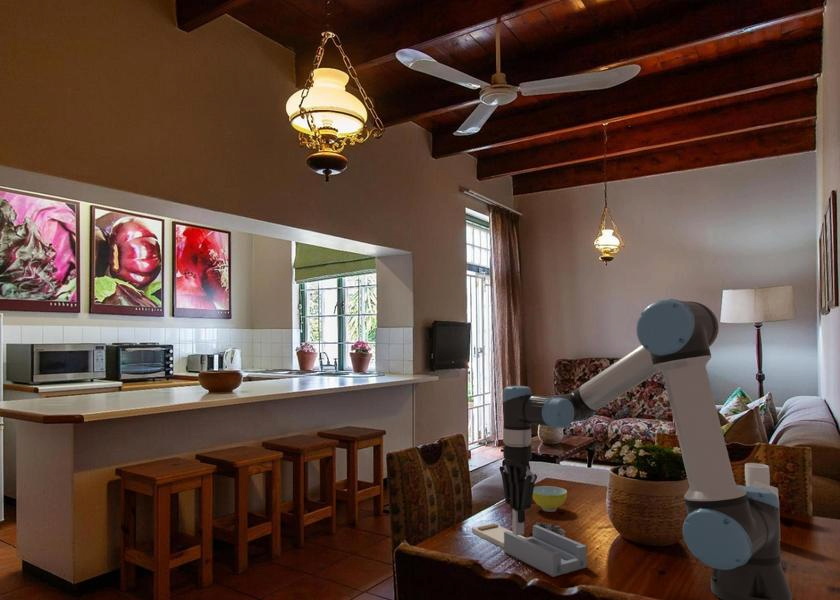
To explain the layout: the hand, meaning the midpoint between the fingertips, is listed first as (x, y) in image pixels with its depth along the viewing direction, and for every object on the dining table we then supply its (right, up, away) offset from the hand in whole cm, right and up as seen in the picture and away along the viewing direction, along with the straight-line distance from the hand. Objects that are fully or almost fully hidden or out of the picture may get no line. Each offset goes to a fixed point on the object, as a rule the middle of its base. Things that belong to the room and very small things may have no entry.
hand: (518, 533), depth 152 cm
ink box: (+68, -4, +5) cm, 68 cm away
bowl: (+15, -6, +32) cm, 36 cm away
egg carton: (+10, -4, +5) cm, 11 cm away
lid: (-4, -4, +6) cm, 8 cm away
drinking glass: (+81, -5, +28) cm, 86 cm away
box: (+5, -3, -9) cm, 10 cm away
